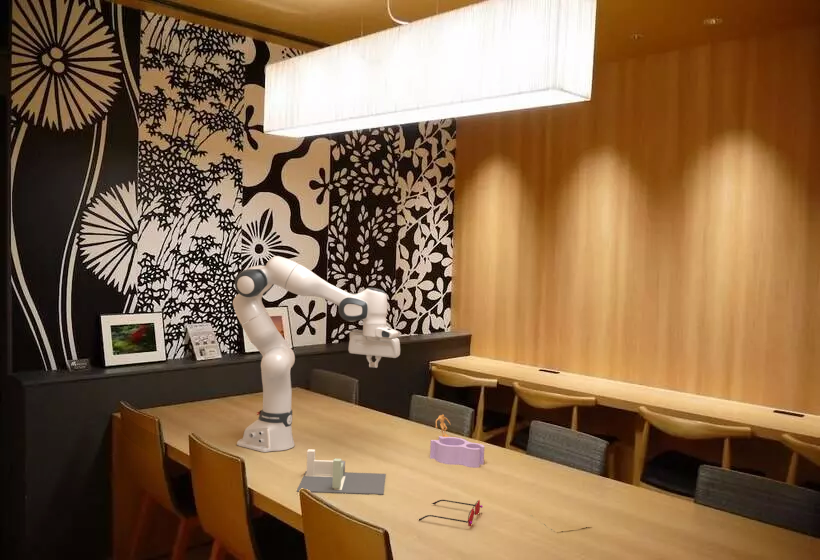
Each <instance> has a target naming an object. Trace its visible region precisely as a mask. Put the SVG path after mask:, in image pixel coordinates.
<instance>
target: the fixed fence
mask: <svg viewBox="0 0 820 560" xmlns="http://www.w3.org/2000/svg"><path fill="white" fill-rule="evenodd" d="M306 471H307V476H314V474H328V475H332V477H333V460H327V459H326V460H325V459H324V460H323V459H321V460H320V459H316V449H311V448H310V449H309V448H308V449H307V451H306Z"/></svg>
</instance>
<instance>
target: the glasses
mask: <svg viewBox="0 0 820 560" xmlns="http://www.w3.org/2000/svg"><path fill="white" fill-rule="evenodd" d="M440 502H446V503H447V502H448V503H452V504H460V505H467V506H472V508H471V509H470V511H469V513H468V517H467V520H463V519H458V518H457V519H456V518H450V517H445V516H438V515H433V514H429V515H424V516H423V517H421V518H418V519H419V520H420V521H422V520H423V519H425V518H428V517H429V518H430V517H432V518H433V517H434V518H438V519H444V520H450V521H455V522H461V523H465V524H466V523H467V524H468V527H469V526H471V524H472V525H473V521H474V517H475V516H476V515H478V513H479V514H480V511H481V509H482V508H483V504H482V505H481V500H480V499H479V500H477V501H476V502H475V503H474V504H472V503H467V502H460V501H453V500H447V499H439V500H437V501H435V502H433V503H432V502H431V504H434V505H436V504H438V503H440ZM471 527H472V526H471Z"/></svg>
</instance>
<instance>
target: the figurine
mask: <svg viewBox="0 0 820 560" xmlns="http://www.w3.org/2000/svg"><path fill="white" fill-rule="evenodd" d="M438 421H439V426H440V428H441V430H440V431H441V434H442V435H441V436H442V437H450V436H449V435H448V434H447V433H446V432H447V429H448V427H447V425H446V423H445V421H447V423H449V425H450V426H451V421H450V420H449V419H448V418H447V417H446V416H445V415H444V414H440V415H438V418H436V420H435V429H438V426H437V424H438Z"/></svg>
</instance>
